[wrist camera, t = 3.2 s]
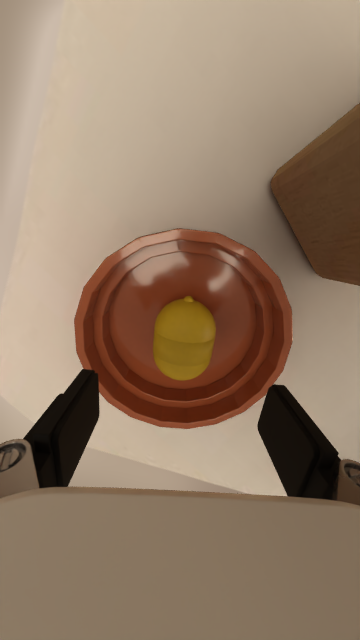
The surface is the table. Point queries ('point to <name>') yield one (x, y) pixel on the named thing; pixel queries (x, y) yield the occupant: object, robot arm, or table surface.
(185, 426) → the fruit bowl
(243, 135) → the table surface
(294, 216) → the wooden block
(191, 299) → the lemon
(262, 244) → the table surface
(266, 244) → the table surface
